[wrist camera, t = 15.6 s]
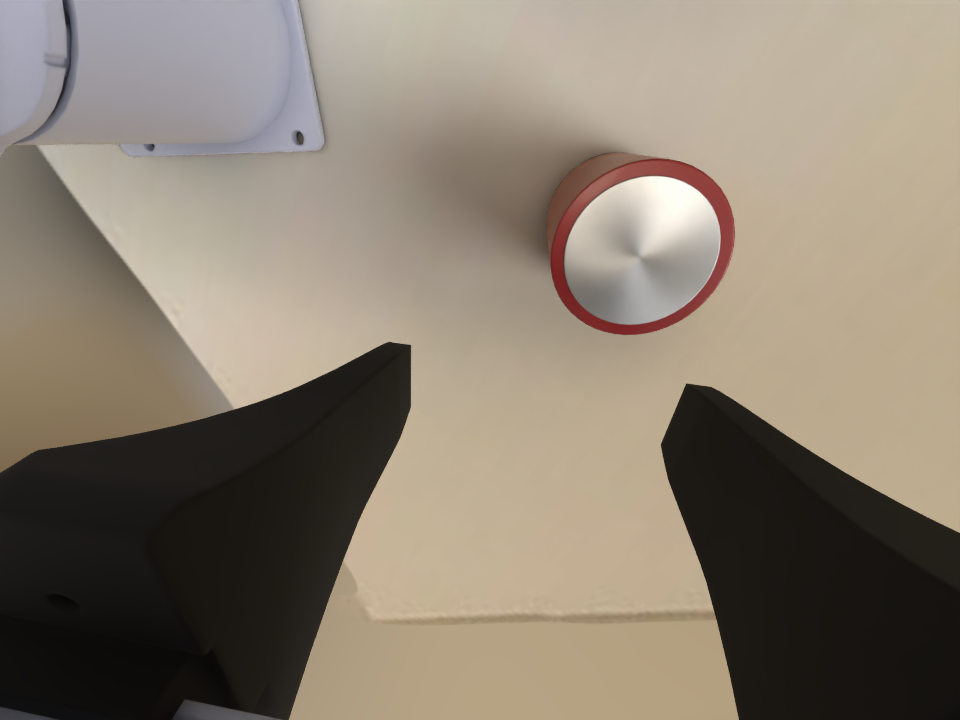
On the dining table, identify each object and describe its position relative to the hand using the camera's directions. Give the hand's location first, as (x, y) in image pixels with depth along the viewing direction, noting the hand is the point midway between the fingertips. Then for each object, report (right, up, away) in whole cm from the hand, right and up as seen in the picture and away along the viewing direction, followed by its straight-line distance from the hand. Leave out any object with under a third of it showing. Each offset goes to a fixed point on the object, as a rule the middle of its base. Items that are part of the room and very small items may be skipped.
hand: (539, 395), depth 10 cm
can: (+4, +7, +6) cm, 10 cm away
